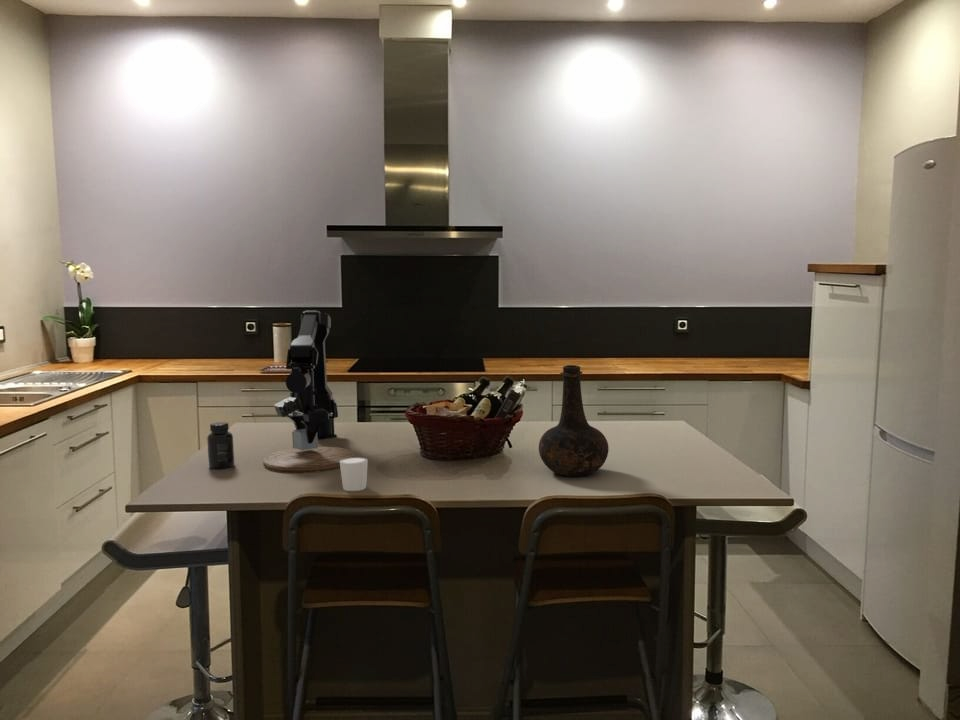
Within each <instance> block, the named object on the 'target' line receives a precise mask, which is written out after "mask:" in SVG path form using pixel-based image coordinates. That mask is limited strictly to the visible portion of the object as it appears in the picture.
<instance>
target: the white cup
mask: <svg viewBox="0 0 960 720" xmlns="http://www.w3.org/2000/svg"><path fill="white" fill-rule="evenodd" d="M368 463H369V461H368V458H365V457H355V456H354V458H346V459H342V460H340V468H339V469H340V475H341V483H342V489H343V490H344V491H347V492H357V491H363V490H365V489H366V488H367V479H368V477H367V476H368Z"/></svg>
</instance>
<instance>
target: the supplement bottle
mask: <svg viewBox="0 0 960 720" xmlns="http://www.w3.org/2000/svg"><path fill="white" fill-rule="evenodd" d="M209 426H210V427H209V431H210V433H209V434H208V435H207V437H206V441H207V442H206V443H207V454H208V455H207V457H208V458H207V459H208V467H209V468H210V469H212V468H213V470H223V469H228V468H232V467H234V466H235V450H234V449H235V448H234V436H233V433H232V432H230V431H229V429H230V428H229V422H227V421H222V422H220V421H219V422H213V423H210V424H209Z"/></svg>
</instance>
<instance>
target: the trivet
mask: <svg viewBox="0 0 960 720" xmlns="http://www.w3.org/2000/svg"><path fill="white" fill-rule="evenodd" d="M354 457H355V452H354V451H352V450H350V449H347V448H342V447H336V446H318V448H313V449H307V450H299V449H297V448H293V447H292V448H287V449H283V450H279V451H275V452H272V453H269V454H267V455H265V456H264V457H263V459H262V460H263V461H262V465H264V466H265V467H264V466H263V467H264V468H265V469H267V468H268V469H267V470H269V469H270V471H272V470H274V472H277V471H278V472H277V473H288V474H289V473H290V474H293V473H294V474H295V473H296V474H303V472H307V473H318V472H317V471H319V472H326V471H333V470H337V469H340V460H342V459H346V458H354Z"/></svg>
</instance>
